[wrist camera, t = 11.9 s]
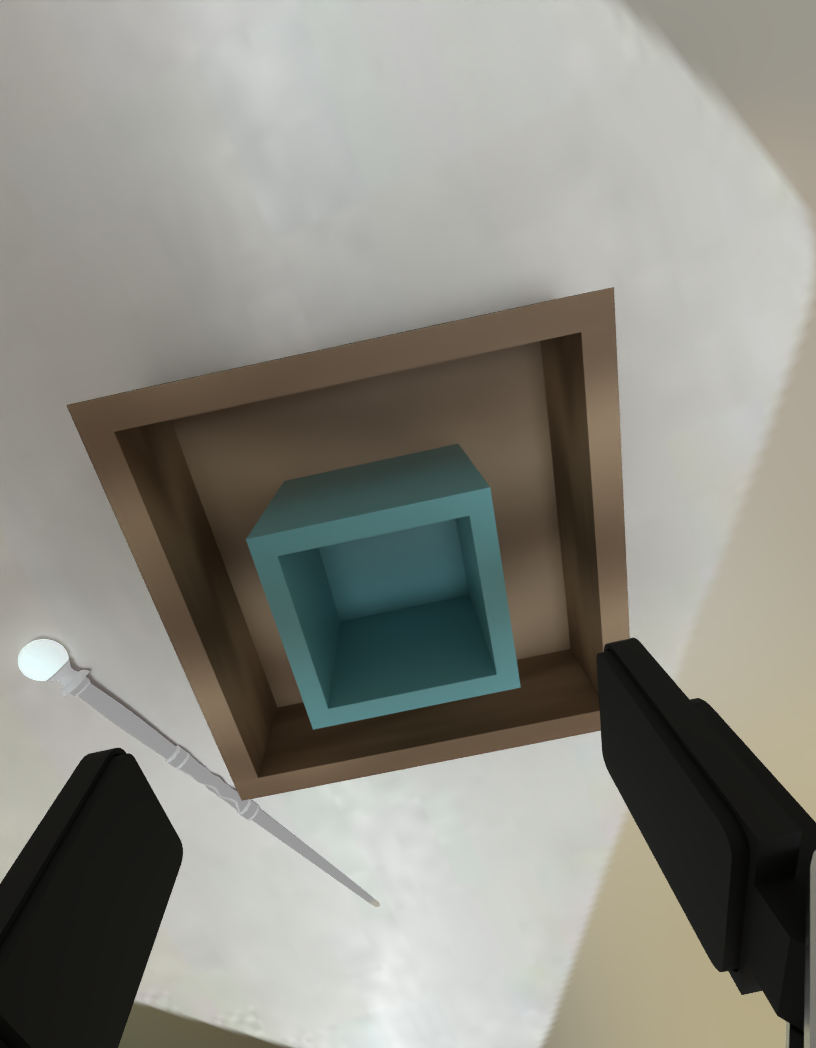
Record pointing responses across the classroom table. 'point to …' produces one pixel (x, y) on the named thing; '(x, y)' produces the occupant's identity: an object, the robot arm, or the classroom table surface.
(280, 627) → the small crate
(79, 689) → the magic wand
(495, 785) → the classroom table surface
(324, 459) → the big crate
